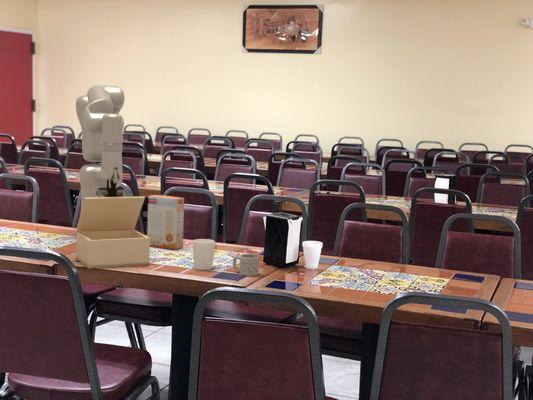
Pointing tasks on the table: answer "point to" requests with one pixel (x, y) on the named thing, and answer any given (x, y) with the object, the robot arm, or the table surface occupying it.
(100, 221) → the carton lid
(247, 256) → the mug
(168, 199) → the cracker box
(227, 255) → the table surface
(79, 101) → the robot arm
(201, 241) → the white cup
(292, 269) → the table surface
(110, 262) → the carton
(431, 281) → the table surface
